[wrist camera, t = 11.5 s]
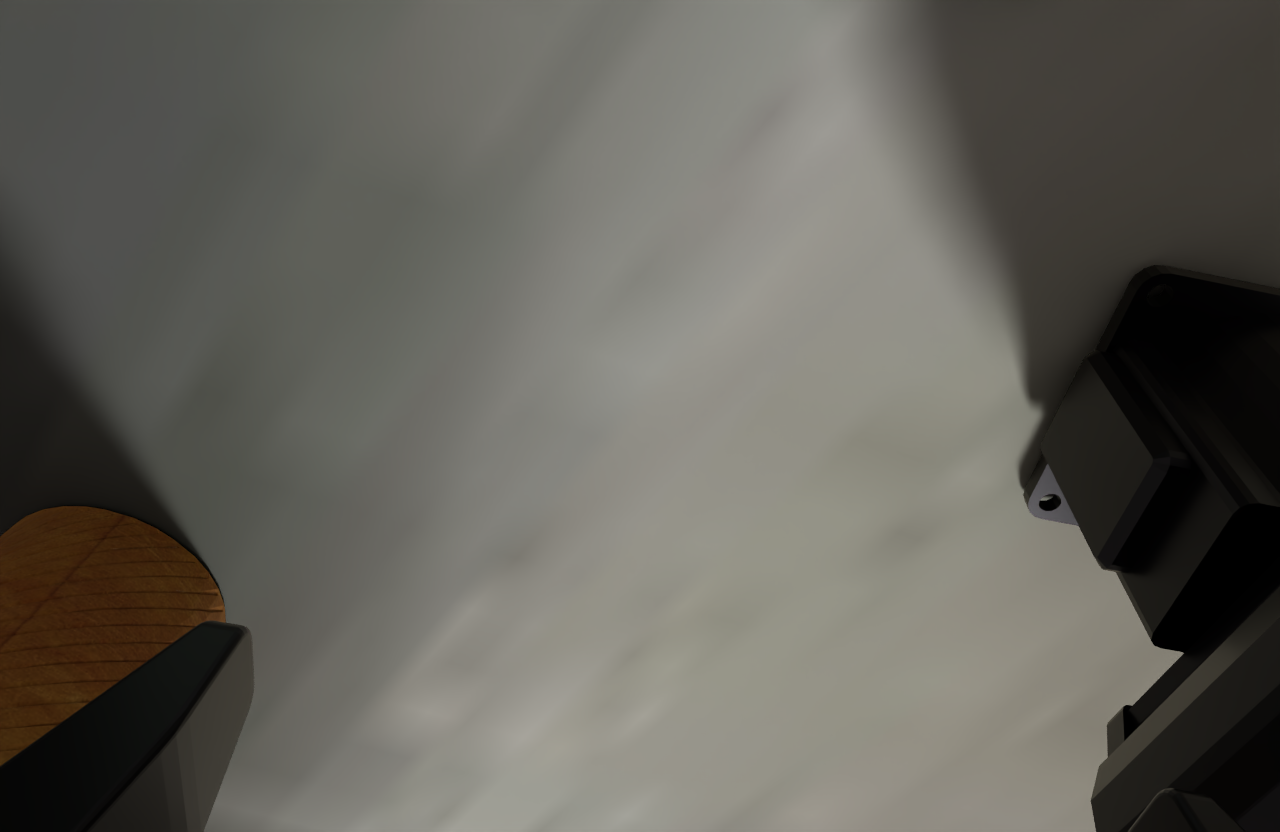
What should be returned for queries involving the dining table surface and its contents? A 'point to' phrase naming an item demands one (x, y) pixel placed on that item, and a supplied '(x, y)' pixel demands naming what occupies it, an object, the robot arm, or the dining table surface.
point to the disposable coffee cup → (87, 611)
